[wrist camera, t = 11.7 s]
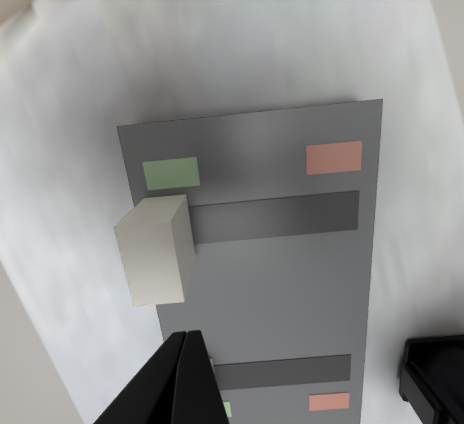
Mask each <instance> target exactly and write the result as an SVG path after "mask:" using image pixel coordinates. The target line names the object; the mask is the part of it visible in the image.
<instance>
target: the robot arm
mask: <svg viewBox="0 0 464 424" xmlns="http://www.w3.org/2000/svg"><path fill="white" fill-rule="evenodd" d="M400 396H401V398H402V399H403V401H406V402H409V403H410V404H411V406H412V407H413V409H414V411H415V412H416V414H417V415H418V417H419V418H420V420H421V422H422V423H423V424H464V335H460V336H448V337H435V338H423V339H412V340H409V341H408V342H407V343H406V348H405V356H404V364H403V366H402V374H401V382H400ZM93 424H230V423H229V420H228V416H227V413H226V410H225V407H224V403H223V400H222V397H221V394H220V390H219V387H218V384H217V381H216V377H215V374H214V371H213V367H212V364H211V361H210V358H209V354H208V351H207V348H206V345H205V341H204V338H203V335H202V332H201V330H189V331H188V332H186V331H176V332H173V333H172V334H171V335H170V336H169V337H168V338H167V339H166V341H165V342H164V343H163V344H162V345H161V346H160V347H159V349H158V350H157V351H156V352H155V353H154V354H153V355H152V357H151V358H150V359H149V360H148V361H147V362H146V364H145V365H144V366H143V367H142V368H141V369H140V370H139V372H138V373H137V374H136V375H135V376H134V377H133V378H132V380H131V381H130V382H129V383H128V384H127V385H126V387H125V388H124V389H123V390H122V391H121V392H120V393H119V395H118V396H117V397H116V398H115V399H114V400H113V401H112V403H111V404H110V405H109V406H108V407H107V408H106V409H105V411H104V412H103V413H102V414H101V415H100V416H99V418H98V419H97V420H96V421H95V422H94V423H93Z"/></svg>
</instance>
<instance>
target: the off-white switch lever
mask: <svg viewBox="0 0 464 424" xmlns="http://www.w3.org/2000/svg"><path fill="white" fill-rule="evenodd" d="M114 231H115V235H116V239H117V243H118V247H119V251H120V255H121V259H122V263H123V267H124V271H125V275H126V279H127V283H128V287H129V291H130V295H131V299H132V303H133V306H145V305H157V304H168V303H180V302H185V298H186V294H187V290H188V286H189V282H190V278H191V274H192V270H193V266H194V262H195V258H196V255H195V249H194V242H193V236H192V229H191V223H190V216H189V210H188V204H187V197H186V194H183V195H173V196H162V197H152V198H144V199H143V200H142V201H141V202H140V203H139V204H137V205H136V206H135V207H134V208H133V209H132V210H131V211H130V212H129V213H128V214H127V215H126V216H125V217H123V218H122V219H121V220H120V221H119V222H118V223H117V224H116V225H115V226H114Z"/></svg>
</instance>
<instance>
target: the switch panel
mask: <svg viewBox="0 0 464 424" xmlns="http://www.w3.org/2000/svg"><path fill="white" fill-rule="evenodd" d="M382 105H383V99H377V100H367V101H358V102H348V103H338V104H328V105H319V106H309V107H299V108H289V109H280V110H270V111H260V112H250V113H241V114H231V115H221V116H211V117H202V118H192V119H182V120H172V121H163V122H153V123H143V124H134V125H124V126H117V130H118V135H119V139H120V144H121V148H122V153H123V158H124V162H125V167H126V171H127V176H128V180H129V185H130V190H131V194H132V199H133V203H134V207H135V206H136V205H137V204H139V203H140V202H141V201H142V200H143V199H144V198H152V197H162V196H173V195H183V194H186V197H187V204H188V210H189V216H190V223H191V229H192V236H193V242H194V249H195V255H196V258H195V262H194V266H193V270H192V274H191V278H190V282H189V286H188V290H187V294H186V298H185V302H180V303H168V304H157V305H156V308H157V313H158V318H159V322H160V327H161V331H162V336H163V340H164V342H165V341H166V339H167V338H168V337H169V336H170V335H171V334H172V333H173V332H176V331H186V332H188V331H189V330H201V332H202V335H203V338H204V341H205V345H206V348H207V351H208V354H209V358H210V359H212V361H213V367H214V374H215V377H216V381H217V384H218V387H219V390H220V394H221V397H222V400H223V403H224V407H225V410H226V413H227V416H228V420H229V423H230V424H360V419H361V405H362V391H363V377H364V362H365V348H366V334H367V319H368V305H369V291H370V277H371V262H372V248H373V234H374V220H375V205H376V191H377V177H378V162H379V148H380V134H381V120H382Z"/></svg>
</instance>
